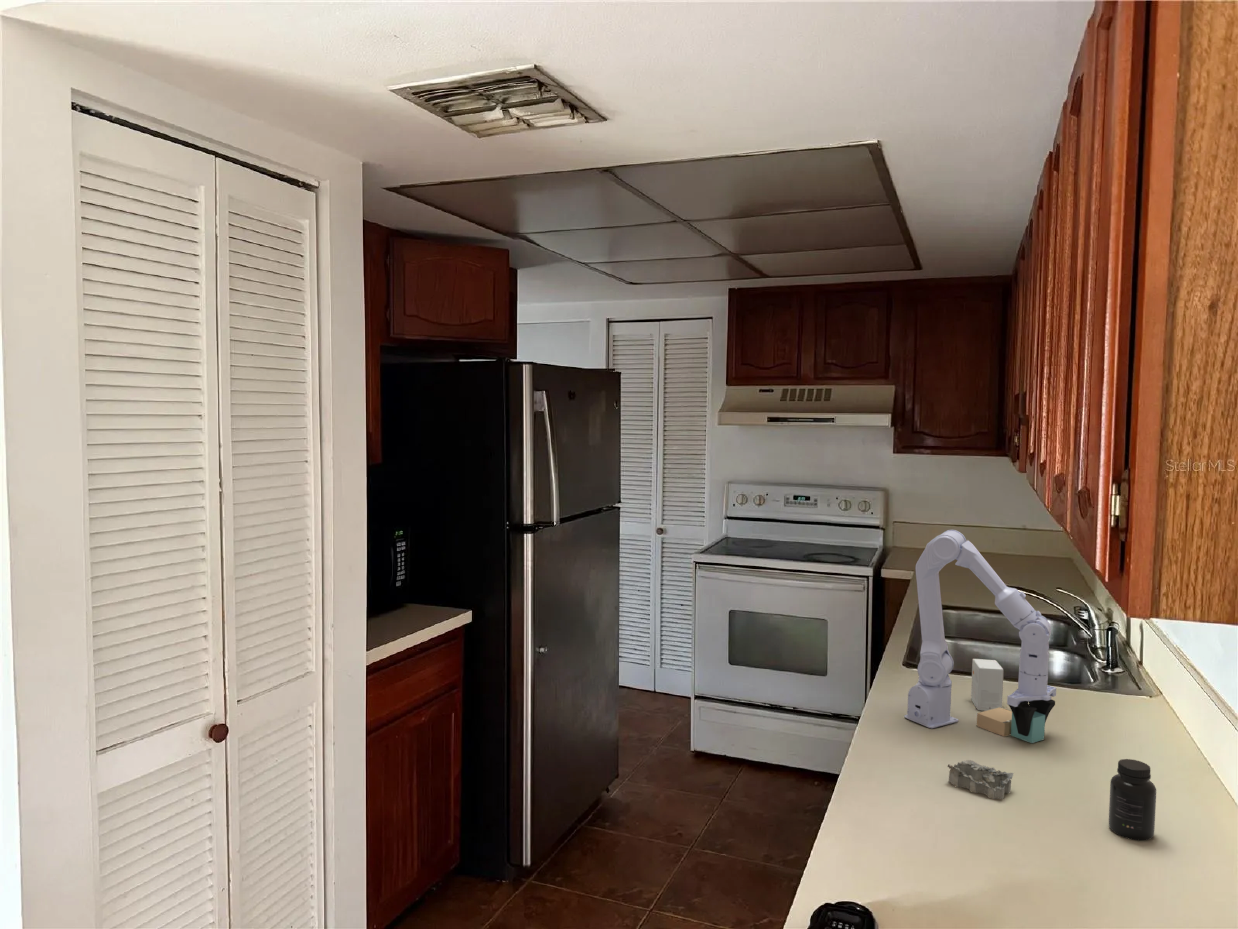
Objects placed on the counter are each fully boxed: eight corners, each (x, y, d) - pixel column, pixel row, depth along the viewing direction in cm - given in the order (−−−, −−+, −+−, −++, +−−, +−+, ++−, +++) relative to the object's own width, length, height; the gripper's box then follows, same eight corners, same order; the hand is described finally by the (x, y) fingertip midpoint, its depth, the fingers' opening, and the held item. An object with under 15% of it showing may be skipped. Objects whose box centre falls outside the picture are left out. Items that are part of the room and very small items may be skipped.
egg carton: (943, 784, 165) (944, 764, 165) (961, 773, 171) (962, 753, 170) (998, 803, 158) (999, 782, 157) (1015, 791, 163) (1016, 770, 162)
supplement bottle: (1111, 818, 152) (1115, 752, 151) (1156, 831, 148) (1161, 763, 147) (1104, 832, 147) (1108, 765, 146) (1150, 846, 143) (1155, 776, 142)
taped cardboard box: (1004, 736, 189) (1004, 722, 189) (976, 726, 195) (977, 712, 195) (1026, 730, 193) (1027, 716, 193) (998, 720, 199) (999, 706, 199)
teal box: (1031, 743, 185) (1033, 718, 185) (1010, 735, 190) (1012, 710, 189) (1044, 739, 188) (1045, 714, 187) (1023, 731, 192) (1024, 707, 191)
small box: (1002, 712, 204) (1004, 669, 203) (977, 710, 205) (979, 667, 204) (994, 701, 212) (996, 659, 211) (970, 699, 213) (972, 658, 212)
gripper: (1029, 682, 180) (1026, 745, 181) (1070, 672, 187) (1067, 732, 188) (999, 673, 186) (996, 733, 187) (1040, 663, 193) (1037, 722, 194)
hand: (1030, 732), depth 188 cm, fingers closed on teal box, 4 cm apart
